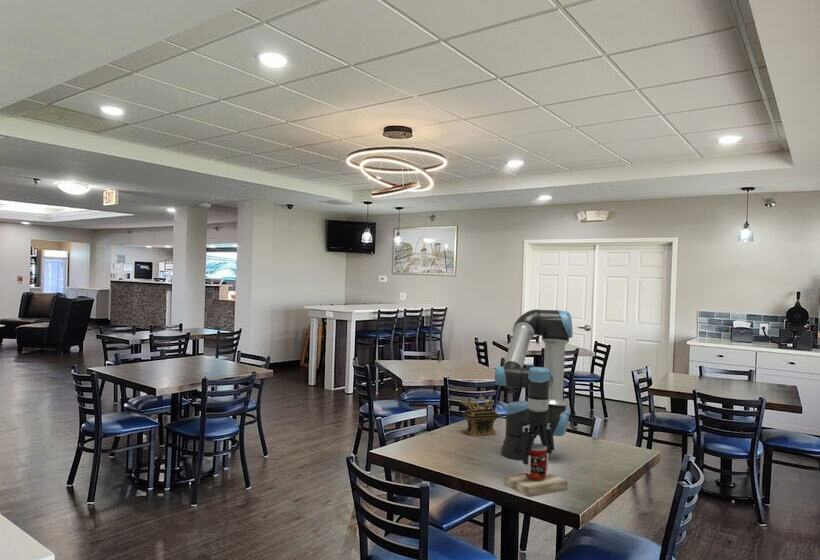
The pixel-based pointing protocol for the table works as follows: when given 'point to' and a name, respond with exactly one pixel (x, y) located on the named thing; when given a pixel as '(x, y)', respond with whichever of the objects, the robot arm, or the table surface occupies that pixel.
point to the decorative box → (480, 418)
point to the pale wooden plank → (535, 484)
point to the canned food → (538, 461)
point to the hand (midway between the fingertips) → (536, 471)
